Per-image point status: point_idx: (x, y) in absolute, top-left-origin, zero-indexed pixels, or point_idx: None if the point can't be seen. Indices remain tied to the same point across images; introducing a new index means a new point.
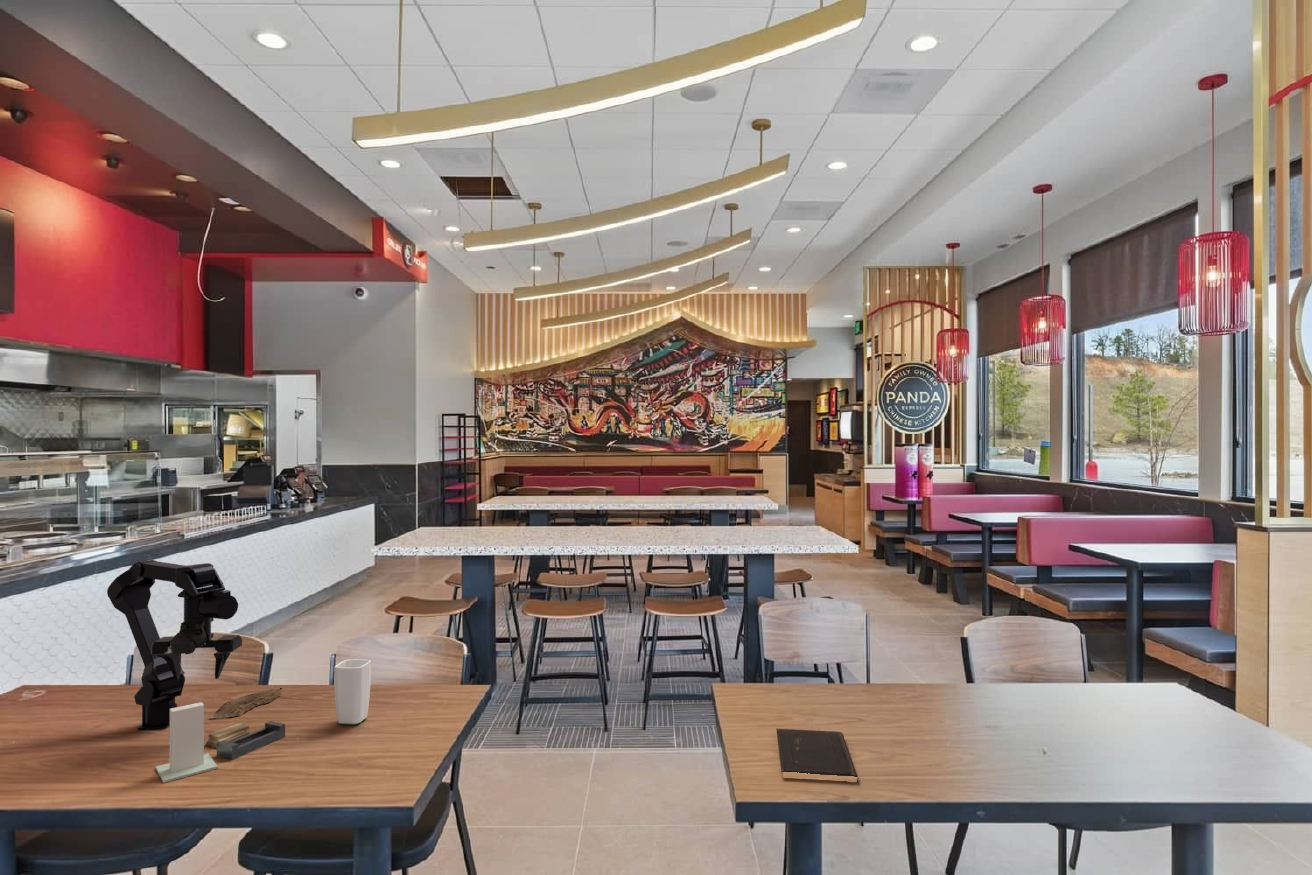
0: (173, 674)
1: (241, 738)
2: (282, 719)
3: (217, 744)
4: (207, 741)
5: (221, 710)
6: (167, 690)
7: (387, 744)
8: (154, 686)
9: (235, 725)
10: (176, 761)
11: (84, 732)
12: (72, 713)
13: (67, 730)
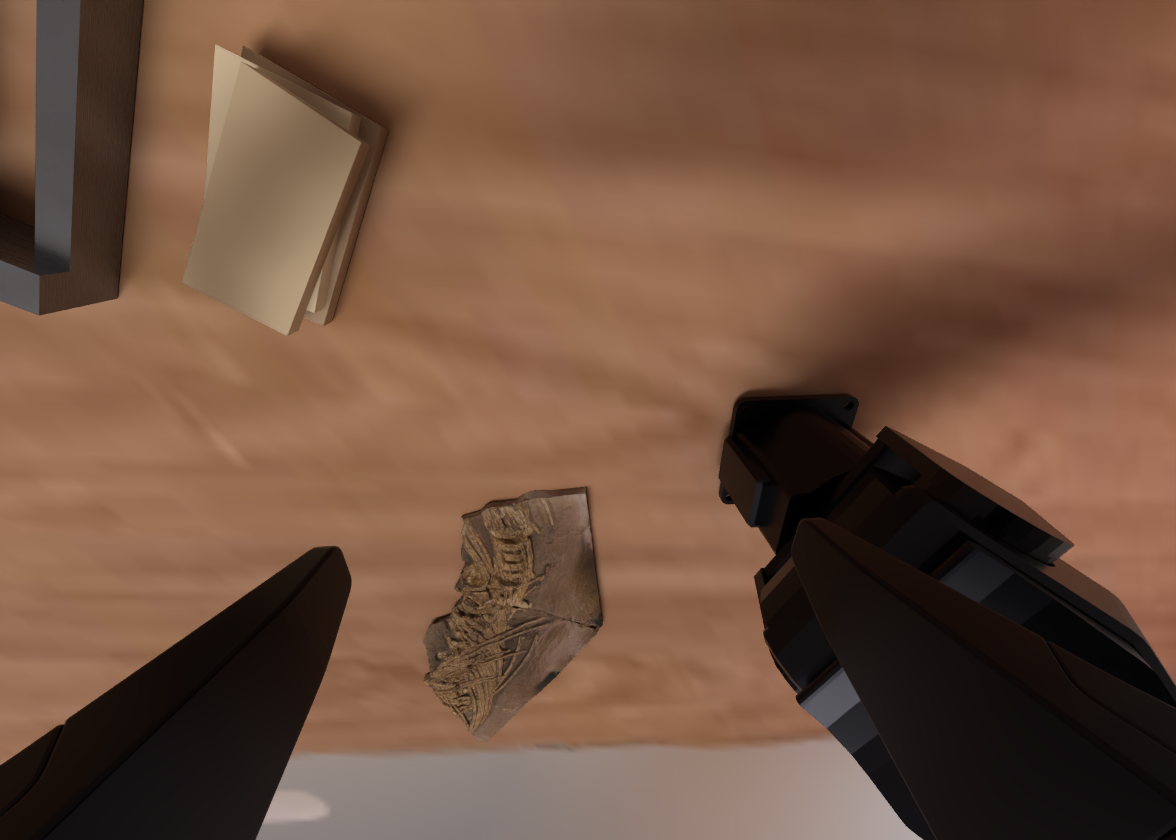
0: (893, 559)
1: (46, 39)
2: (219, 477)
3: None
4: (375, 132)
5: (577, 565)
6: (837, 522)
7: None
8: (968, 505)
9: (281, 293)
10: None
11: (1063, 382)
12: (1111, 556)
13: (1127, 408)
